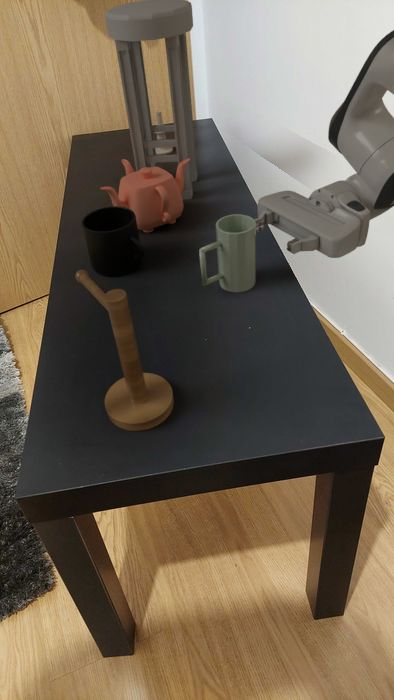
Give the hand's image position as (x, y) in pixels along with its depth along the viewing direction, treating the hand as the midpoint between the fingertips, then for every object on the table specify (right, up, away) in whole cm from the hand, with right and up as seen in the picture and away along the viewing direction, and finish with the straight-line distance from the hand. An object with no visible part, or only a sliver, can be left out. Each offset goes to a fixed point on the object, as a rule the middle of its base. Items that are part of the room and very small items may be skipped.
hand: (270, 237), depth 86 cm
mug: (-26, -3, +8) cm, 28 cm away
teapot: (-22, +8, +21) cm, 32 cm away
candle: (-21, +33, +48) cm, 62 cm away
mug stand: (-22, -24, -16) cm, 36 cm away
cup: (-7, -8, +1) cm, 11 cm away
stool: (-19, +18, +31) cm, 40 cm away
